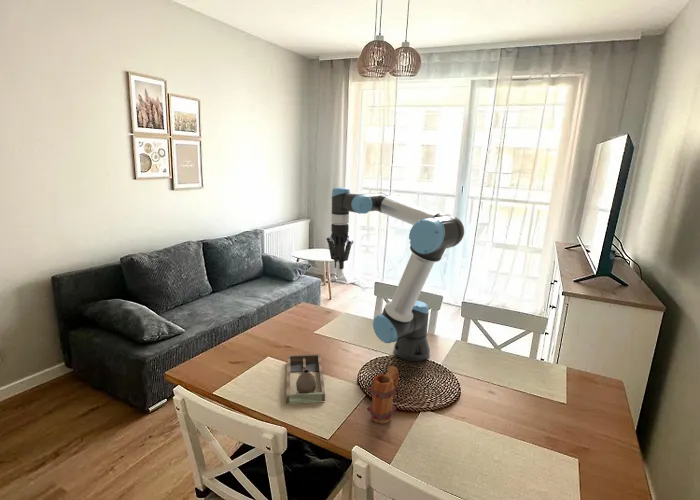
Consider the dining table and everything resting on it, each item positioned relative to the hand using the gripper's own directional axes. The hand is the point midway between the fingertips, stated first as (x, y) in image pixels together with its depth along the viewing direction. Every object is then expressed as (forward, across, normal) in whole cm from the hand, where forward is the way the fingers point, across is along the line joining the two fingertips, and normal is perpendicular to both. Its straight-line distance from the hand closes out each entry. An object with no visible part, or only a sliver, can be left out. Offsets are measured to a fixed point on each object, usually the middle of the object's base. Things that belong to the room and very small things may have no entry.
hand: (339, 275), depth 178 cm
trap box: (+29, -11, +38) cm, 49 cm away
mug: (+30, -45, +39) cm, 67 cm away
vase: (+30, -17, +44) cm, 56 cm away
